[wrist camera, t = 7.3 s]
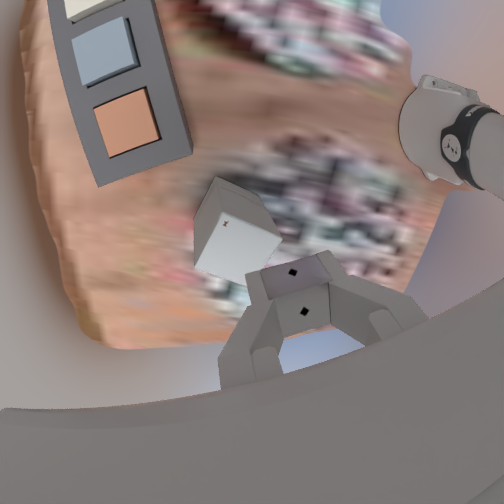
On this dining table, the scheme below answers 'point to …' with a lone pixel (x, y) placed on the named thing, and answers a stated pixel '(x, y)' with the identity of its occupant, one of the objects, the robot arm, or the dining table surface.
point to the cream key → (86, 8)
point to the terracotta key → (127, 122)
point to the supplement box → (233, 232)
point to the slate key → (105, 52)
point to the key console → (123, 90)
